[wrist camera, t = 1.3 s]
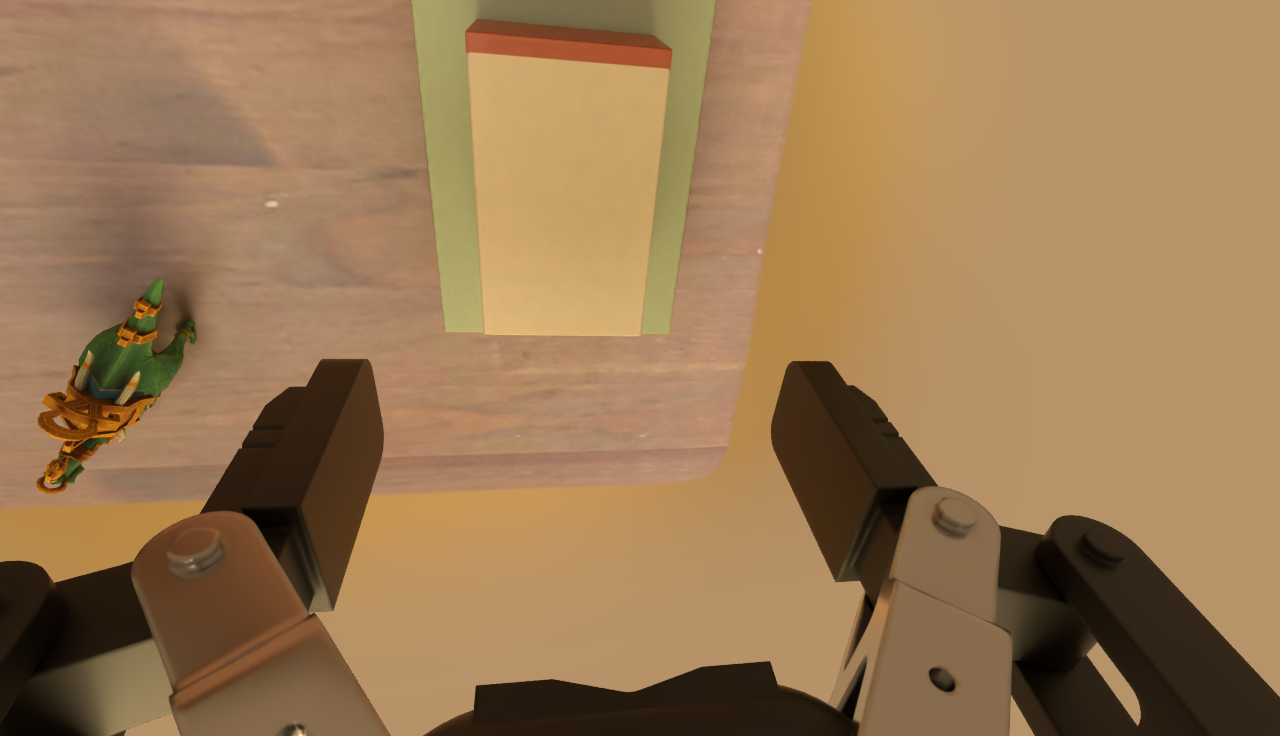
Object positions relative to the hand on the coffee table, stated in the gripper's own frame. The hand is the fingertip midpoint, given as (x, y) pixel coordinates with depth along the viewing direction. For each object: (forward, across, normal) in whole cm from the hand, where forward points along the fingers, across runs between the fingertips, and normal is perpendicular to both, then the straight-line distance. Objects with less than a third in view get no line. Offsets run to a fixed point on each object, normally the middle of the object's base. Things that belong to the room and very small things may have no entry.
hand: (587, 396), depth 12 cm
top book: (+14, 0, 0) cm, 14 cm away
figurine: (+18, +18, +9) cm, 27 cm away
